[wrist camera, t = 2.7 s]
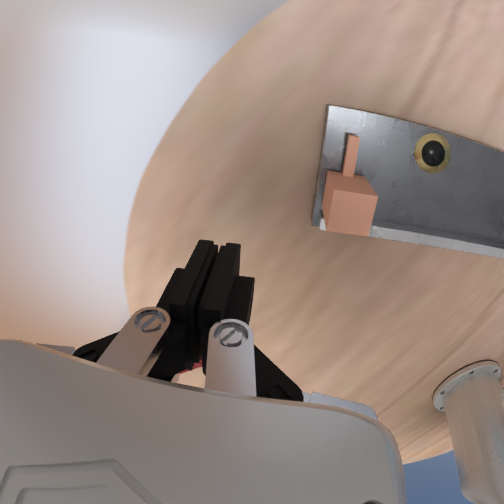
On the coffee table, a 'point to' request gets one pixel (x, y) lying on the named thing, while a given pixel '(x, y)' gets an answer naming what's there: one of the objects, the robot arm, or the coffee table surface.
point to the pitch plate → (419, 181)
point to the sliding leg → (348, 197)
